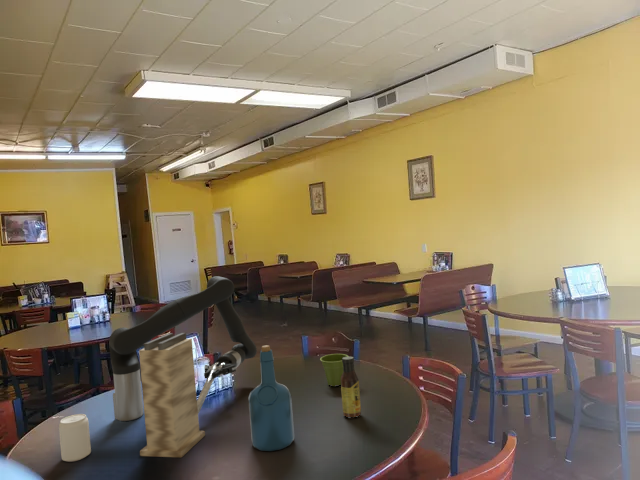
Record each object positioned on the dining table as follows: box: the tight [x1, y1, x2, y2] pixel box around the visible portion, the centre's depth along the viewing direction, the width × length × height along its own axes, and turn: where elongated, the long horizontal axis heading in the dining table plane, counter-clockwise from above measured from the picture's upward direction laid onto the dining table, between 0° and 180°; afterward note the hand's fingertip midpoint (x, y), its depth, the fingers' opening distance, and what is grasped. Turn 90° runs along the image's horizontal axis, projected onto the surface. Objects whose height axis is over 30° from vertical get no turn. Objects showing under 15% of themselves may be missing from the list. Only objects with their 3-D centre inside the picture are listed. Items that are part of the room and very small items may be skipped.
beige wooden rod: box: [197, 365, 219, 414], centre depth 171 cm, size 20×2×2 cm, turn 166°
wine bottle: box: [248, 344, 295, 452], centre depth 144 cm, size 14×13×30 cm
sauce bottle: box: [340, 356, 362, 418], centre depth 161 cm, size 6×6×20 cm
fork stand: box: [138, 332, 206, 458], centre depth 148 cm, size 14×15×34 cm
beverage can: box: [58, 413, 92, 463], centre depth 146 cm, size 8×8×12 cm
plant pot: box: [319, 353, 350, 386], centre depth 195 cm, size 12×12×11 cm
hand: (209, 375), depth 174 cm, fingers closed on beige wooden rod, 2 cm apart
